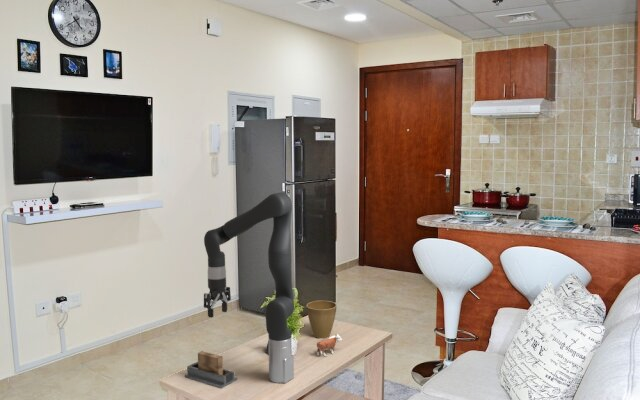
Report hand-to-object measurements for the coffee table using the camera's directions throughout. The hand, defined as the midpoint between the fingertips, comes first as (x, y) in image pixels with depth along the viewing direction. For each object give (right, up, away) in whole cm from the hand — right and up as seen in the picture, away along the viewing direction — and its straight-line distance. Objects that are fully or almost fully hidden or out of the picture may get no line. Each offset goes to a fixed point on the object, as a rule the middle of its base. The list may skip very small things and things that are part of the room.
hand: (217, 314), depth 232 cm
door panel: (-2, -24, -7) cm, 25 cm away
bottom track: (-2, -25, -7) cm, 26 cm away
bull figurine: (+47, -22, +19) cm, 55 cm away
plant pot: (+44, -20, +42) cm, 64 cm away
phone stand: (+23, -22, +21) cm, 38 cm away
